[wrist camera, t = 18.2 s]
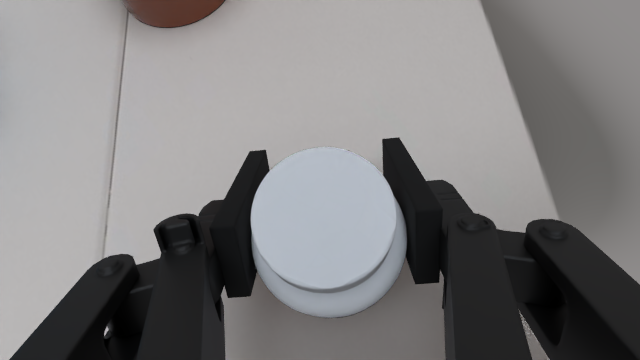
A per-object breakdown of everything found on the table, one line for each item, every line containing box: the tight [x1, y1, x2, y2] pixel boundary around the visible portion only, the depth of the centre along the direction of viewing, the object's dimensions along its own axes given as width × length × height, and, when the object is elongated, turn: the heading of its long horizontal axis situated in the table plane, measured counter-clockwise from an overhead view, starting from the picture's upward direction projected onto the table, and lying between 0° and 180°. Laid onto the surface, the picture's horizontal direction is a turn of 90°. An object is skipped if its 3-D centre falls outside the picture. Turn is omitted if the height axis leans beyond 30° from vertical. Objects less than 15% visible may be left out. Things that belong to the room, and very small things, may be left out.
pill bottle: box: [250, 147, 407, 318], centre depth 14 cm, size 5×5×10 cm
